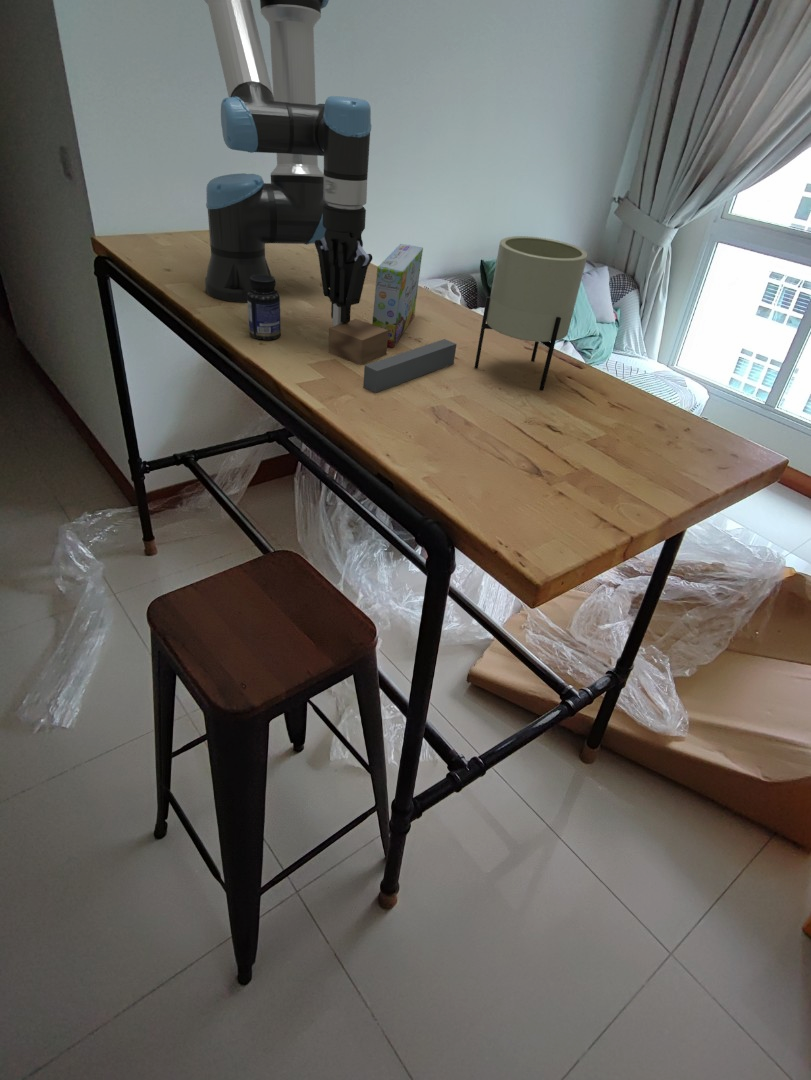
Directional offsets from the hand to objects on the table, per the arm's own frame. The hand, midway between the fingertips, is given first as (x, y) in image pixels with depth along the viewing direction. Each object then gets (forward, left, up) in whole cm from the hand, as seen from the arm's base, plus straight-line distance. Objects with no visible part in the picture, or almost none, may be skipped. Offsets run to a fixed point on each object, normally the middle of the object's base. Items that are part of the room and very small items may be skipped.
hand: (339, 337), depth 126 cm
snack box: (0, +16, -2) cm, 16 cm away
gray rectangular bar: (+18, +1, -2) cm, 18 cm away
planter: (+30, +19, -2) cm, 36 cm away
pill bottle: (-12, -9, -2) cm, 15 cm away
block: (+5, 0, -2) cm, 5 cm away
